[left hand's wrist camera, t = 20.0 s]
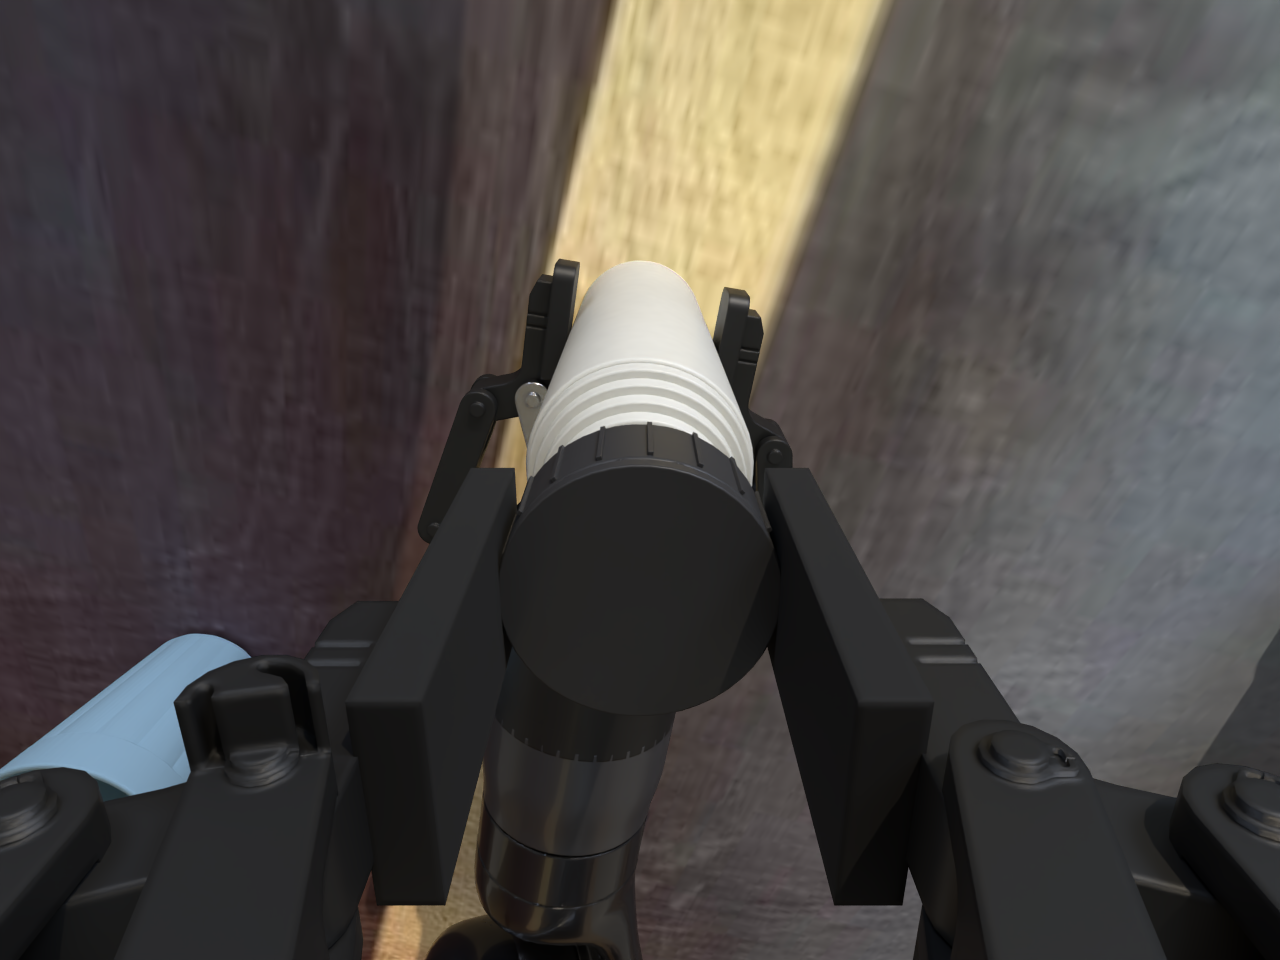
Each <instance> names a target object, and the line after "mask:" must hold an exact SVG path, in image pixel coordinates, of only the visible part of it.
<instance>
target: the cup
mask: <svg viewBox="0 0 1280 960" xmlns="http://www.w3.org/2000/svg"><path fill="white" fill-rule="evenodd" d="M246 658H251V657H250V656H249V655H248V654H247V653H246V652H245V651H244V650H243V649H242V648H240V647H239V646H237V645H236V644H234V643H232V642H230V641H228V640H225V639H223V638H221V637H217V636H213V635H207V634H187V635H183V636H180V637H177V638H174V639H171V640H169V641H167V642H166V643H164V644H163V645H162V646H160V647H159V648H158V649H156V650H155V651H154V652H152V653H151V654H150V655H148V656H147V657H146V658H144V659H143V660H142V661H140V662H139V663H138V664H137V665H135V666H134V667H133V668H131V669H130V670H129V671H128V672H126V673H125V674H124V675H122V676H121V677H120V678H118V679H117V680H116V681H115V682H113V683H112V684H111V685H109V686H108V687H107V688H106V689H104V690H103V691H102V692H100V693H99V694H98V695H97V696H95V697H94V698H93V699H91V700H90V701H89V702H87V703H86V704H85V705H84V706H82V707H81V708H80V709H78V710H77V711H76V712H75V713H73V714H72V715H71V716H69V717H68V718H67V719H65V720H64V721H63V722H62V723H60V724H59V725H58V726H56V727H55V728H54V729H53V730H51V731H50V732H49V733H47V734H46V735H45V736H43V737H42V738H41V739H40V740H38V741H37V742H36V743H34V744H33V745H32V746H30V747H29V748H27V749H26V750H25V751H23V752H22V753H21V754H20V755H18V756H17V757H16V758H14V759H13V760H12V761H10V762H9V763H8V764H7V765H5V766H4V767H3V768H1V769H0V781H2V780H4V779H7V778H10V777H13V776H15V775H16V776H17V775H20V774H23V773H27V772H30V771H33V770H40V769H49V768H58V767H67V768H72V769H78V770H84V771H86V772H87V773H88V774H89V775H91V776H92V777H93V778H94V779H95V780H96V781H97V782H98V785H99V789H100V792H101V795H102V799H103V802H104V801H108V800H113V799H118V798H122V797H127V796H131V795H136V794H140V793H145V792H150V791H154V790H159V789H163V788H167V787H170V786H174V785H177V784H181V783H184V782H187V779H188V777H189V774H190V772H191V771H190V767H189V763H188V759H187V755H186V751H185V747H184V743H183V739H182V735H181V731H180V727H179V723H178V719H177V715H176V711H175V707H174V703H173V702H174V701H175V699H176V698H177V697H178V696H179V695H180V693H181V692H182V691H183V690H184V688H185V687H186V686H187V685H189V684H190V683H192V682H193V681H195V680H196V679H198V678H199V677H201V676H202V675H204V674H205V673H207V672H208V671H211V670H213V669H216V668H218V667H221V666H223V665H226V664H228V663H231V662H233V661H237V660H242V659H246Z"/></svg>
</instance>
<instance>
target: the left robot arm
mask: <svg viewBox="0 0 1280 960" xmlns="http://www.w3.org/2000/svg"><path fill="white" fill-rule="evenodd" d="M763 505H764V508H765V511H766V514H767V517H768V520H769V522H770V525H771V528H772V532H770V536H771V539H772V542H773V545H774V548H775V550H776V553H777V556H778V560H779V564H780V569H781V581H780V596H779V610H778V622H777V626H776V629H775V631H774V634H773V637H772V639H771V641H770V642H769V644H768V646H767V647H768V651H769V655H770V659H771V663H772V667H773V670H774V674H775V678H776V682H777V686H778V690H779V694H780V697H781V701H782V705H783V709H784V713H785V717H786V721H787V724H788V728H789V732H790V736H791V740H792V744H793V748H794V752H795V755H796V759H797V763H798V767H799V771H800V775H801V779H802V782H803V786H804V790H805V794H806V798H807V802H808V806H809V809H810V813H811V817H812V821H813V825H814V829H815V833H816V836H817V840H818V844H819V848H820V852H821V856H822V860H823V864H824V867H825V871H826V875H827V879H828V883H829V887H830V891H831V894H832V898H833V902H834V905H903V898H904V892H905V886H906V879H907V873H908V867H909V869H910V872H911V875H912V877H913V880H914V883H915V885H916V888H917V891H918V893H919V896H920V898H921V901H922V909H921V915H920V921H919V927H918V933H917V939H916V945H915V951H914V957H913V960H1280V777H1278V776H1276V775H1273V774H1270V773H1267V772H1262V771H1260V770H1257V769H1252V768H1249V767H1246V766H1237V765H1228V764H1219V763H1216V764H1210V765H1205V766H1199V767H1195V768H1194V769H1193V770H1191V771H1190V772H1189V773H1188V774H1187V775H1186V776H1184V777H1183V780H1182V783H1181V786H1180V790H1179V793H1178V796H1177V798H1174V797H1169V796H1165V795H1160V794H1156V793H1151V792H1146V791H1142V790H1137V789H1132V788H1128V787H1123V786H1119V785H1115V784H1111V783H1108V782H1104V781H1101V780H1097V779H1094V778H1092V775H1091V773H1090V771H1089V769H1088V768H1087V766H1086V765H1085V763H1084V762H1083V761H1082V759H1081V758H1080V756H1079V755H1078V753H1077V752H1075V751H1074V750H1073V749H1071V748H1070V747H1069V746H1067V745H1066V744H1065V743H1063V742H1062V741H1061V740H1060V739H1058V738H1057V737H1055V736H1053V735H1050V734H1048V733H1046V732H1044V731H1042V730H1040V729H1037V728H1035V727H1033V726H1030V725H1026V724H1021V723H1020V722H1019V720H1018V719H1017V717H1016V716H1015V714H1014V713H1013V711H1012V710H1011V708H1010V707H1009V705H1008V704H1007V702H1006V701H1005V699H1004V698H1003V696H1002V695H1001V693H1000V692H999V690H998V689H997V687H996V686H995V684H994V683H993V681H992V680H991V678H990V677H989V676H988V674H987V673H986V671H985V670H984V668H983V667H982V665H981V664H980V663H977V658H976V656H975V655H974V653H973V652H972V650H971V649H970V647H969V646H968V645H965V640H964V638H963V637H962V635H961V634H960V632H959V631H958V629H957V628H956V626H955V625H954V623H953V622H952V620H951V619H950V618H949V617H948V616H947V615H945V614H944V613H942V612H941V611H939V610H938V609H936V608H935V607H934V606H932V605H931V604H929V603H928V602H926V601H925V600H924V599H879V598H878V596H877V594H876V592H875V590H874V589H873V587H872V585H871V583H870V581H869V579H868V577H867V576H866V574H865V572H864V570H863V568H862V566H861V564H860V563H859V561H858V559H857V557H856V555H855V553H854V551H853V550H852V548H851V546H850V544H849V542H848V540H847V538H846V537H845V535H844V533H843V531H842V529H841V527H840V525H839V524H838V522H837V520H836V518H835V516H834V514H833V512H832V511H831V509H830V507H829V505H828V503H827V501H826V499H825V498H824V496H823V494H822V492H821V490H820V488H819V486H818V485H817V483H816V481H815V479H814V477H813V475H812V473H811V472H810V470H809V468H765V474H764V491H763ZM515 514H517V500H516V484H515V468H471V469H470V471H469V472H468V474H467V476H466V478H465V480H464V482H463V484H462V485H461V487H460V489H459V491H458V493H457V495H456V497H455V498H454V500H453V502H452V504H451V506H450V508H449V510H448V511H447V513H446V515H445V517H444V519H443V521H442V523H441V524H440V526H439V528H438V530H437V532H436V534H435V536H434V537H433V539H432V541H431V543H430V545H429V547H428V549H427V550H426V552H425V554H424V556H423V558H422V560H421V562H420V563H419V565H418V567H417V569H416V571H415V573H414V574H413V576H412V578H411V580H410V582H409V584H408V586H407V587H406V589H405V591H404V593H403V595H402V597H401V599H400V600H399V601H357V602H356V603H354V604H353V605H351V606H350V607H349V608H347V609H346V610H344V611H343V612H341V613H340V614H339V615H337V616H336V617H334V618H333V619H331V620H330V621H329V623H328V624H327V626H326V627H325V629H324V630H323V632H322V633H321V635H320V636H319V638H318V639H317V641H316V642H315V647H312V648H311V650H310V651H309V653H308V654H307V656H306V657H305V659H300V658H296V657H292V656H288V655H261V656H256V657H251V658H246V659H242V660H237V661H233V662H231V663H228V664H226V665H223V666H221V667H218V668H216V669H213V670H211V671H208V672H207V673H205V674H204V675H202V676H201V677H199V678H198V679H196V680H195V681H193V682H192V683H190V684H189V685H187V686H186V687H185V688H184V690H183V691H182V692H181V693H180V695H179V696H178V697H177V698H176V699H175V701H174V702H173V703H174V707H175V711H176V715H177V719H178V723H179V727H180V731H181V735H182V739H183V743H184V747H185V751H186V755H187V759H188V763H189V767H190V771H191V772H190V774H189V777H188V779H187V782H184V783H181V784H177V785H174V786H170V787H167V788H163V789H159V790H154V791H150V792H145V793H140V794H136V795H131V796H127V797H122V798H118V799H113V800H108V801H104V802H103V799H102V795H101V792H100V789H99V785H98V782H97V781H96V780H95V779H94V778H93V777H92V776H91V775H89V774H88V773H87V772H86V771H84V770H78V769H72V768H67V767H58V768H49V769H40V770H33V771H30V772H27V773H23V774H20V775H17V776H16V775H15V776H13V777H10V778H7V779H4V780H2V781H0V960H361V956H362V946H363V935H362V928H361V921H360V915H359V909H358V904H359V901H360V899H361V896H362V893H363V891H364V888H365V885H366V883H367V880H368V877H369V875H370V872H371V870H372V876H373V883H374V889H375V895H376V902H377V905H445V904H446V900H447V896H448V892H449V888H450V885H451V881H452V877H453V873H454V869H455V865H456V861H457V858H458V854H459V850H460V846H461V842H462V838H463V834H464V831H465V827H466V823H467V819H468V815H469V811H470V807H471V804H472V800H473V796H474V792H475V788H476V784H477V780H478V777H479V773H480V769H481V765H482V761H483V757H484V753H485V749H486V746H487V742H488V738H489V734H490V730H491V726H492V722H493V719H494V715H495V711H496V707H497V703H498V699H499V695H500V692H501V688H502V684H503V680H504V676H505V672H506V668H507V665H508V661H509V657H510V653H511V649H512V645H511V643H510V641H509V639H508V637H507V635H506V632H505V630H504V627H503V624H502V617H501V604H500V590H499V568H500V563H501V559H502V552H503V549H504V546H505V543H506V540H507V537H508V534H509V531H510V528H511V526H512V523H513V520H514V517H515Z"/></svg>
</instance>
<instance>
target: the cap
mask: <svg viewBox="0 0 1280 960" xmlns="http://www.w3.org/2000/svg"><path fill="white" fill-rule="evenodd" d="M770 532H772V528H771V525H770V522H769V520H768V517H767V514H766V511H765V508H764V505H763V503H762V500H761V497H760V494H759V492H758V491H756V492H754V490H753V488H752V487H751V485H750V483H749V481H748V479H747V478H746V477H745V476H744V474H743V473H742V472H741V470H740V469H739V468H738V466H737V464H736V461H735V459H734V458H733V457H732V456H731V457H730V458H728V457H727V456H726V455H725V454H724V453H722V452H721V451H720V450H718V449H717V448H716V447H714V446H713V445H711V444H710V443H708V442H706V441H704V440H702V439H701V438H699V437H698V434H697V433H695V432H693V433H692V434H689V433H687V432H684V431H681V430H678V429H674V428H669V427H665V426H657V425H652V422H647V424H631V425H621V426H614V427H610V428H606V427H605V426H602V427H600V430H598V431H596V432H593V433H591V434H588V435H586V436H583V437H581V438H579V439H577V440H575V441H573V442H572V443H570V444H568V445H567V446H565V447H564V446H563V445H561V446H560V447H559V449H558V452H557V453H556V454H554V455H553V456H552V457H551V458H550V459H549V460H548V461H547V462H546V463H545V464H544V465H543V466H542V467H541V469H540V470H539V471H538V472H537V474H536V475H535V476H534V477H533V476H530V477H529V479H528V482H527V485H526V488H525V491H524V494H523V496H522V499H521V502H520V505H519V508H518V511H517V514H515V517H514V520H513V523H512V526H511V528H510V531H509V534H508V537H507V540H506V543H505V546H504V549H503V552H502V559H501V563H500V568H499V590H500V604H501V617H502V624H503V627H504V630H505V632H506V635H507V637H508V639H509V641H510V643H511V645H512V647H513V648H514V650H515V652H516V653H517V655H518V656H519V658H520V659H521V660H522V662H523V663H524V664H525V666H526V667H527V668H528V669H529V670H530V671H531V672H532V673H533V674H534V675H535V676H536V677H537V678H538V679H539V680H541V681H542V682H543V683H544V684H545V685H547V686H548V687H549V688H551V689H552V690H554V691H555V692H557V693H558V694H560V695H562V696H563V697H565V698H567V699H569V700H571V701H573V702H575V703H578V704H580V705H583V706H585V707H588V708H591V709H594V710H598V711H602V712H606V713H611V714H618V715H626V716H653V715H662V714H668V713H673V712H678V711H682V710H685V709H688V708H691V707H694V706H697V705H700V704H702V703H704V702H706V701H708V700H711V699H713V698H715V697H716V696H718V695H720V694H721V693H723V692H724V691H726V690H728V689H729V688H730V687H732V686H733V685H734V684H735V683H737V682H738V681H739V680H740V679H742V678H743V677H744V676H745V675H746V674H747V673H748V672H749V671H750V670H751V669H752V668H753V666H754V665H755V664H756V663H757V661H758V660H759V659H760V657H761V656H762V655H763V653H764V651H765V650H766V648H767V646H768V644H769V642H770V641H771V639H772V637H773V634H774V631H775V629H776V626H777V622H778V610H779V596H780V581H781V569H780V564H779V560H778V556H777V553H776V550H775V548H774V545H773V542H772V539H771V536H770Z"/></svg>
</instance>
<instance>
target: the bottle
mask: <svg viewBox="0 0 1280 960" xmlns="http://www.w3.org/2000/svg"><path fill="white" fill-rule="evenodd" d="M647 422H652V425H657V426H665V427H669V428H674V429H678V430H681V431H684V432H687V433H689V434H692V433H693V432H695V433H697V434H698V437H699V438H701V439H702V440H704V441H706V442H708V443H710V444H711V445H713V446H714V447H716V448H717V449H718V450H720V451H721V452H722V453H724V454H725V455H726V456H727V457H728V458H730V457H731V456H732V457H733V458H734V459H735V461H736V464H737V466H738V468H739V469H740V470H741V472H742V473H743V474H744V476H745V477H746V478H747V479H748V481H749V483H750V485H751V487H752V479H753V464H754V460H753V448H752V444H751V439H750V435H749V432H748V429H747V427H746V424H745V422H744V419H743V416H742V414H741V411H740V409H739V406H738V404H737V401H736V399H735V396H734V394H733V391H732V389H731V386H730V384H729V381H728V378H727V376H726V373H725V371H724V368H723V366H722V363H721V361H720V358H719V356H718V353H717V351H716V348H715V345H714V343H713V340H712V338H711V335H710V333H709V330H708V328H707V325H706V323H705V320H704V318H703V315H702V313H701V310H700V307H699V305H698V302H697V300H696V297H695V295H694V293H693V291H692V290H691V288H690V287H689V285H688V284H687V283H686V281H685V280H684V279H683V278H682V277H681V276H680V275H678V274H677V273H676V272H675V271H673V270H671V269H670V268H668V267H666V266H663V265H661V264H658V263H655V262H650V261H630V262H625V263H621V264H618V265H616V266H614V267H612V268H610V269H608V270H607V271H605V272H604V273H603V274H601V275H600V276H599V277H598V278H597V279H596V280H595V281H594V282H593V283H592V285H591V286H590V287H589V289H588V291H587V292H586V294H585V296H584V299H583V301H582V304H581V306H580V309H579V311H578V314H577V316H576V319H575V322H574V324H573V327H572V329H571V332H570V334H569V337H568V339H567V342H566V344H565V347H564V349H563V352H562V355H561V357H560V360H559V362H558V365H557V367H556V370H555V372H554V375H553V377H552V380H551V382H550V385H549V388H548V390H547V393H546V395H545V398H544V400H543V403H542V405H541V408H540V410H539V413H538V416H537V418H536V421H535V423H534V426H533V428H532V431H531V434H530V438H529V442H528V447H527V456H526V471H527V482H528V479H529V477H530V476H533V477H534V476H535V475H536V474H537V472H538V471H539V470H540V469H541V467H542V466H543V465H544V464H545V463H546V462H547V461H548V460H549V459H550V458H551V457H552V456H553V455H554V454H556V453H557V452H558V449H559V447H560V446H561V445H563V446H564V447H565V446H567V445H568V444H570V443H572V442H573V441H575V440H577V439H579V438H581V437H583V436H586V435H588V434H591V433H593V432H596V431H598V430H600V427H602V426H605V427H606V428H610V427H614V426H621V425H631V424H647Z"/></svg>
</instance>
